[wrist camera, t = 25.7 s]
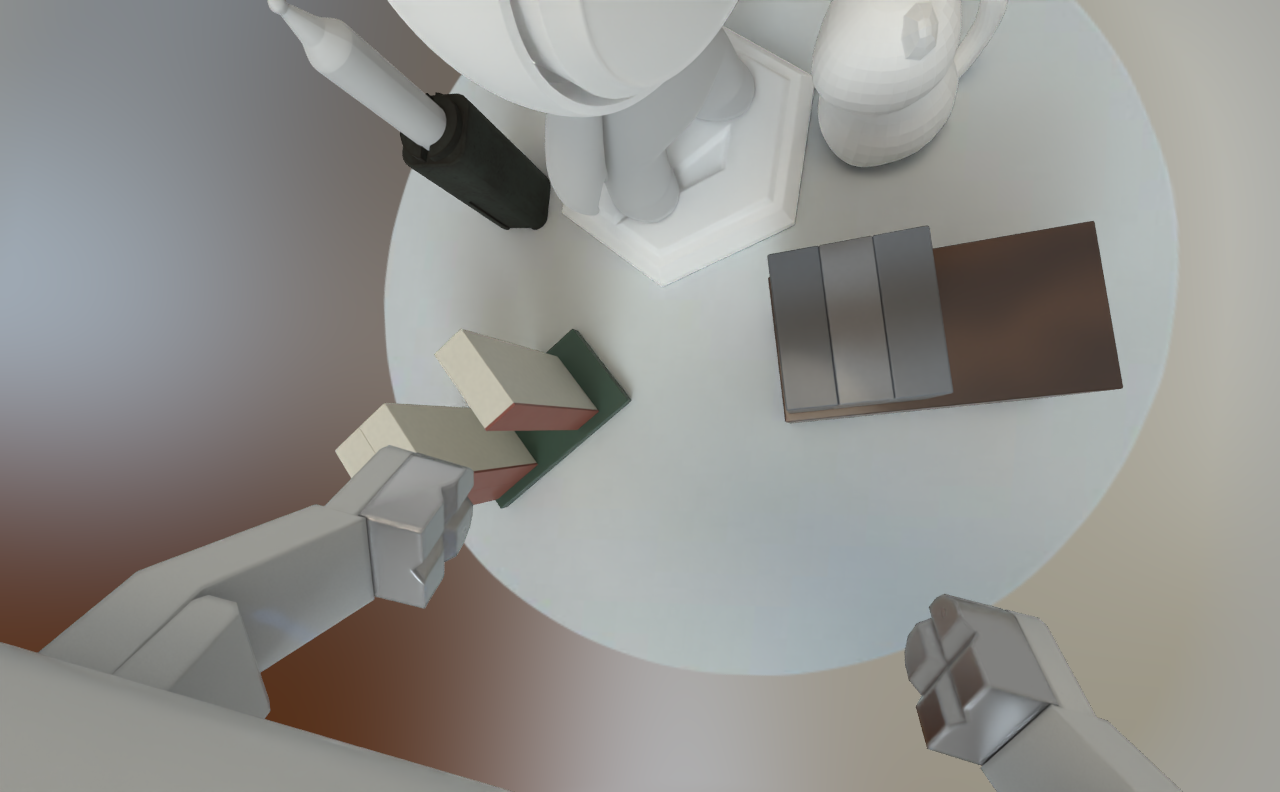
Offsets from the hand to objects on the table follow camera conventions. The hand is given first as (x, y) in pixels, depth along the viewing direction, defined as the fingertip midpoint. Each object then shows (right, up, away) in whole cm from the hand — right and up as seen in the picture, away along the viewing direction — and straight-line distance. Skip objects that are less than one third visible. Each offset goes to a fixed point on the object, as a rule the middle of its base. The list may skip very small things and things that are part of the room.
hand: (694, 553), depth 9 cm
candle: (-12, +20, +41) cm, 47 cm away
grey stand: (+18, +6, +31) cm, 37 cm away
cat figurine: (+18, +24, +32) cm, 44 cm away
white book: (-7, +3, +37) cm, 38 cm away
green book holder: (-10, +1, +39) cm, 40 cm away
